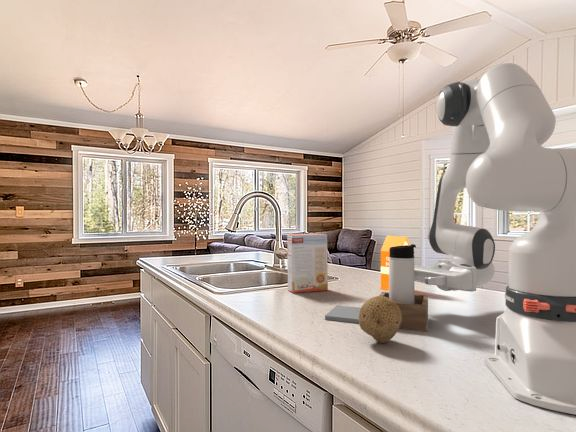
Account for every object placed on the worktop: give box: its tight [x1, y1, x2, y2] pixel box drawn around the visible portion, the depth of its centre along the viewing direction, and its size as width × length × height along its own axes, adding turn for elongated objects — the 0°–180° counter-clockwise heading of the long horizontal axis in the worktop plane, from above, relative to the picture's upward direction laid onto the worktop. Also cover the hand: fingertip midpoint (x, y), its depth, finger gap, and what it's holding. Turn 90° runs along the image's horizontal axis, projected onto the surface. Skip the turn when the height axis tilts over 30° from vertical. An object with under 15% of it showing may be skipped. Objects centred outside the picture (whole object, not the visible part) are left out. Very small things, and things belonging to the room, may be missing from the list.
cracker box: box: [286, 233, 329, 294], centre depth 131 cm, size 14×6×21 cm, turn 108°
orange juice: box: [380, 235, 411, 291], centre depth 133 cm, size 8×9×20 cm
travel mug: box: [388, 243, 417, 304], centre depth 92 cm, size 6×7×20 cm
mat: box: [324, 305, 361, 324], centre depth 97 cm, size 12×11×1 cm
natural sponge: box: [358, 295, 402, 344], centre depth 76 cm, size 9×9×10 cm
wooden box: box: [378, 291, 429, 332], centre depth 92 cm, size 12×12×6 cm
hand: (412, 278), depth 93 cm, fingers open, 8 cm apart
